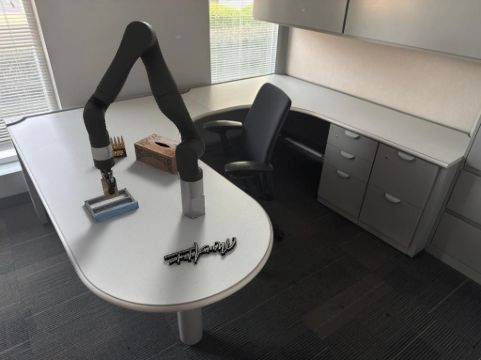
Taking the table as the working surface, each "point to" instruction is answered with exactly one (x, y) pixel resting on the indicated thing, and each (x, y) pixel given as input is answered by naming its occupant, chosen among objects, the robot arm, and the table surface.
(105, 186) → the plug block
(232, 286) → the table surface
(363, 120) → the table surface
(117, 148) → the ammunition clip
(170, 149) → the tissue box cover
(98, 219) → the organizer
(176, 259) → the nameplate
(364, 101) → the table surface
